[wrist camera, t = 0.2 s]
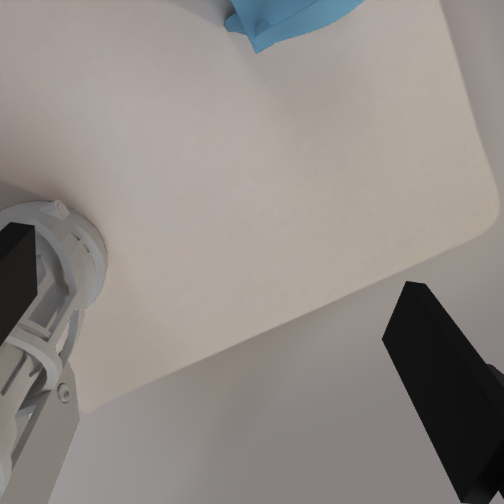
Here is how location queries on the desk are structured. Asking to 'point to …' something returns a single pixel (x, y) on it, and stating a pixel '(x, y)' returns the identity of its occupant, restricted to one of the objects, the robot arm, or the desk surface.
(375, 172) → the desk surface
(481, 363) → the robot arm
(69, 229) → the grey tall piece
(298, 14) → the chair
